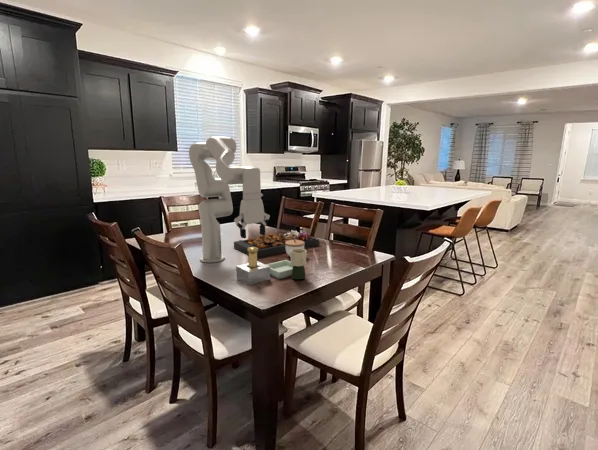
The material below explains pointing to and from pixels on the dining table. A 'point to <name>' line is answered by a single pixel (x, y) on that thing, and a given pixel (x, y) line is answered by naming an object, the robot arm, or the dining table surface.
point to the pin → (252, 257)
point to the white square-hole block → (253, 273)
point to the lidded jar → (293, 245)
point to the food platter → (274, 243)
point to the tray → (281, 269)
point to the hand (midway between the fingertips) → (253, 236)
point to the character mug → (298, 263)
